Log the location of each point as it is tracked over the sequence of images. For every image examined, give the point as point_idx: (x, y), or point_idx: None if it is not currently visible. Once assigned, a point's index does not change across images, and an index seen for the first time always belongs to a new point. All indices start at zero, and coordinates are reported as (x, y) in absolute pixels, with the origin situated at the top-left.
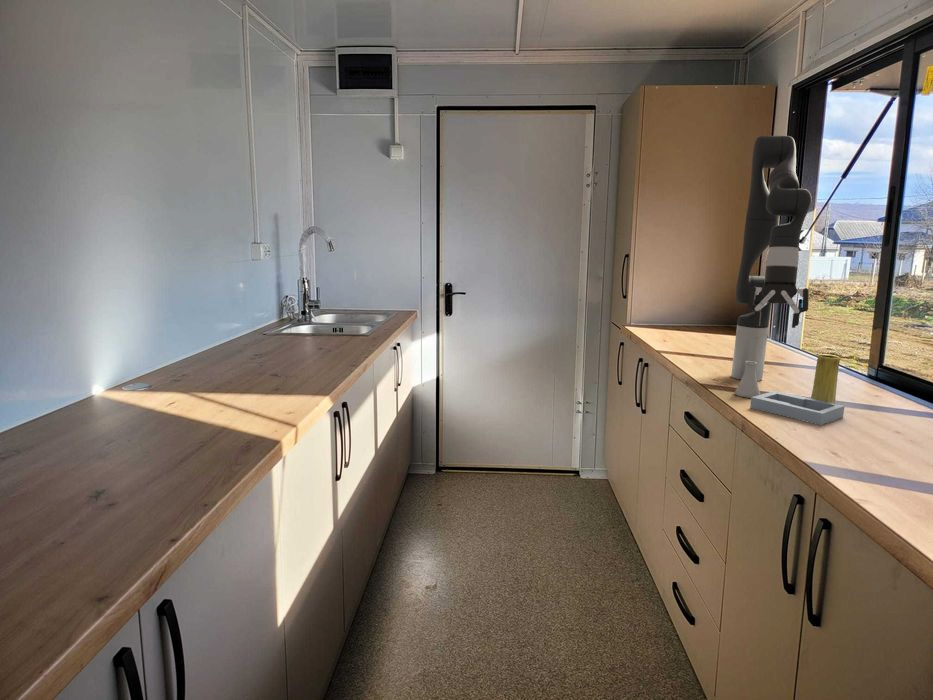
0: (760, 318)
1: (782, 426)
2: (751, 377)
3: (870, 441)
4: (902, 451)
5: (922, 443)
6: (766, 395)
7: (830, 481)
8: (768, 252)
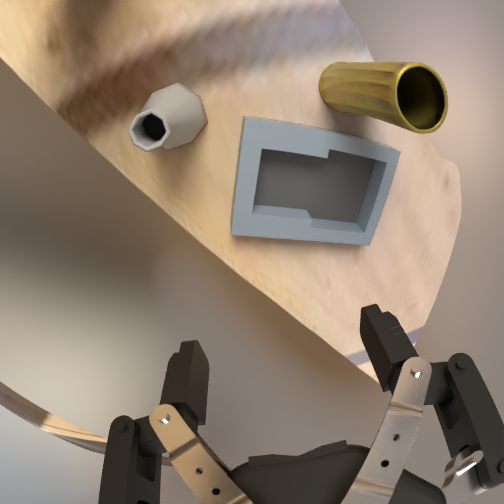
0: (194, 373)
1: (311, 284)
2: (173, 136)
3: (412, 256)
4: (434, 265)
5: (459, 215)
6: (248, 191)
7: (362, 369)
8: None
